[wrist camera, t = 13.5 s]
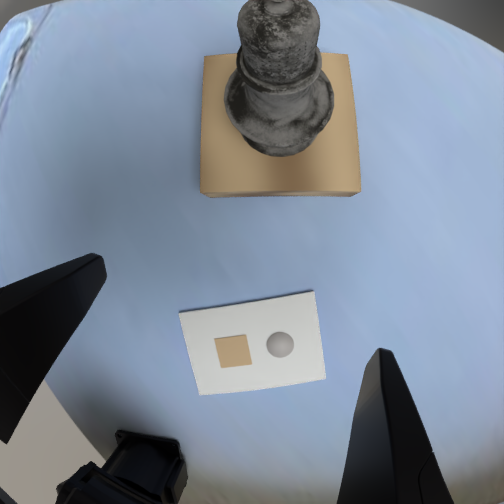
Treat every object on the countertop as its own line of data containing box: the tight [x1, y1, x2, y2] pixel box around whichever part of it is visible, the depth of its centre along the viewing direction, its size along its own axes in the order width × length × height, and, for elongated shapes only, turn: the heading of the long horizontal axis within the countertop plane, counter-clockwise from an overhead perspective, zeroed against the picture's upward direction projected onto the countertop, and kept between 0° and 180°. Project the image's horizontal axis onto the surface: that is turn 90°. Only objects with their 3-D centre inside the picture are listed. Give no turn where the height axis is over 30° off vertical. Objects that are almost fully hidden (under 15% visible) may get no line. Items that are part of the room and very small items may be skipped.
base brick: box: [200, 53, 361, 198], centre depth 20 cm, size 10×10×3 cm
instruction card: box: [179, 291, 326, 395], centre depth 22 cm, size 10×7×1 cm
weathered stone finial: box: [224, 0, 334, 157], centre depth 12 cm, size 6×6×12 cm
